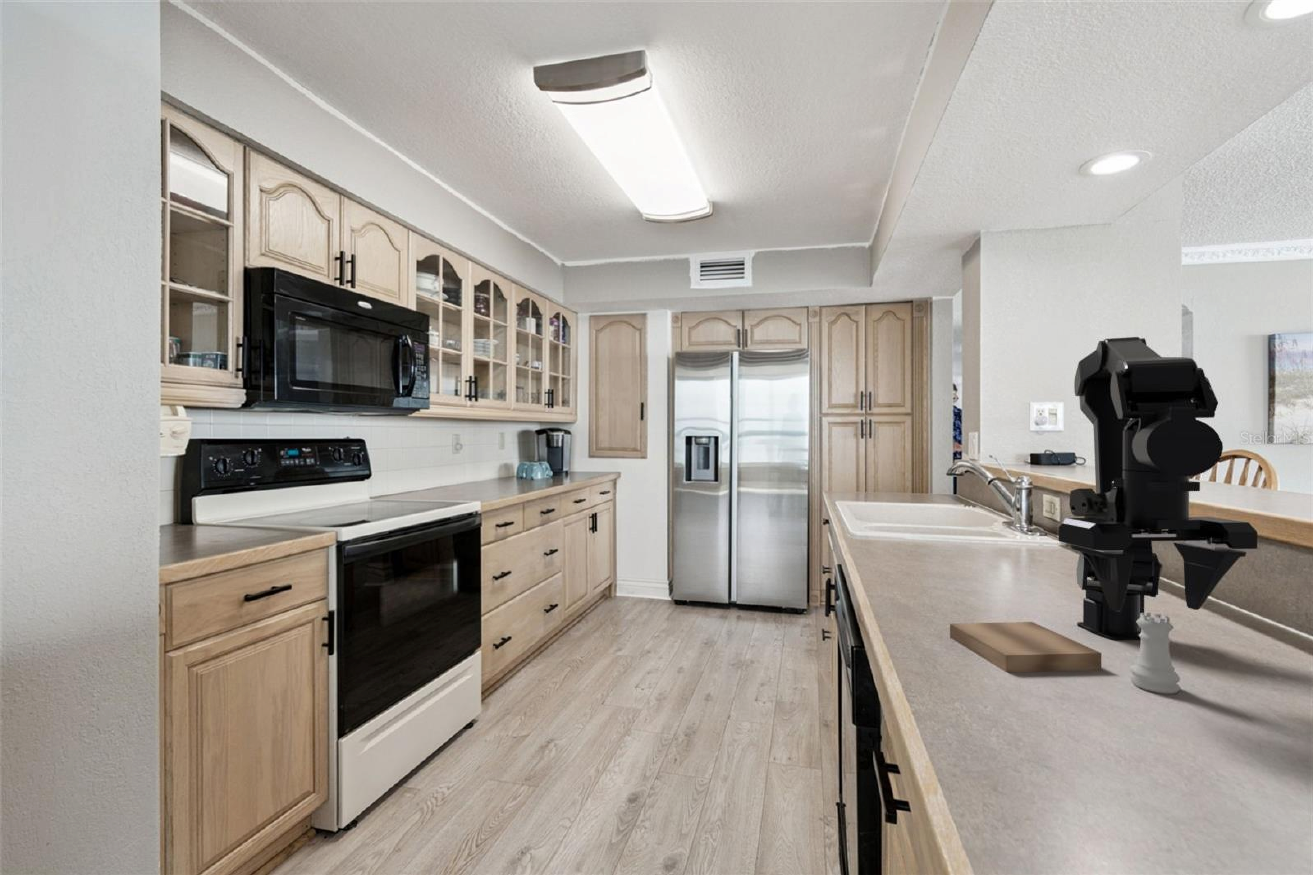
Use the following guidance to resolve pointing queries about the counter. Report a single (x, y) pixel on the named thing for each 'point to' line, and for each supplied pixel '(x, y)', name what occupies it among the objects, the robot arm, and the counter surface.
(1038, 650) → the walnut block
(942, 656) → the counter surface
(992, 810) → the counter surface
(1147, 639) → the rook chess piece
